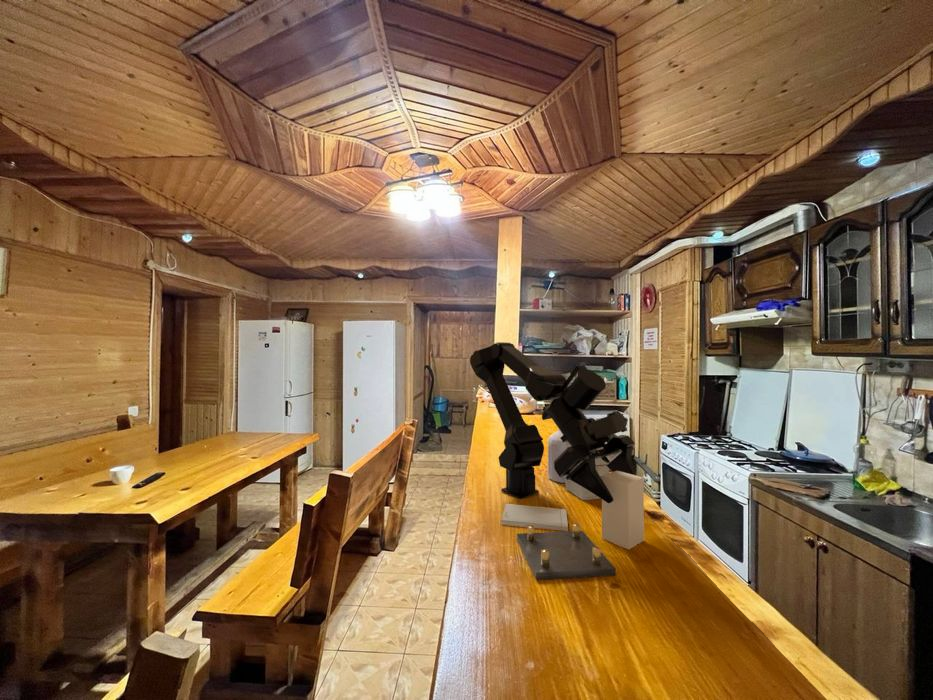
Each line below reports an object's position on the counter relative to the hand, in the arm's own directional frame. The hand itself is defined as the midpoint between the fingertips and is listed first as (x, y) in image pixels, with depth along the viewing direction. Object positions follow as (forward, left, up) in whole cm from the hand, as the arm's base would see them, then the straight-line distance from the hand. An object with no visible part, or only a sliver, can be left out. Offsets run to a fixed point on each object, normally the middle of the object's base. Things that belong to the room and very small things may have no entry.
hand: (626, 495), depth 66 cm
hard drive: (-16, -6, -9) cm, 19 cm away
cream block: (-1, 0, -8) cm, 8 cm away
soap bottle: (-28, +19, -8) cm, 34 cm away
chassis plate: (-4, -13, -8) cm, 16 cm away
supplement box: (-18, +14, -8) cm, 24 cm away
